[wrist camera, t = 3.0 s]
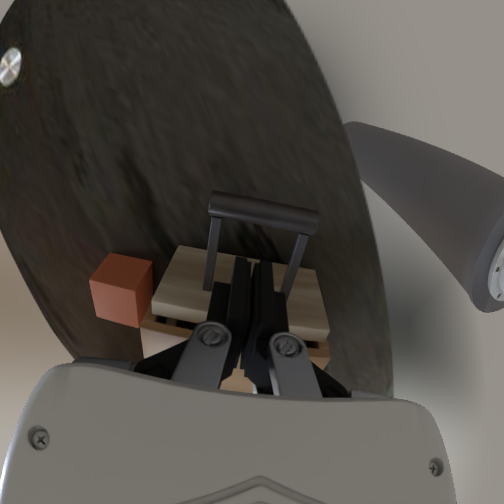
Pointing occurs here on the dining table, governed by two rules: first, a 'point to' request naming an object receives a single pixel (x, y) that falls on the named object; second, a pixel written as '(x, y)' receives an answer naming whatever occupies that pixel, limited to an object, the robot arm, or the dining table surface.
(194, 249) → the drawer
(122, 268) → the block
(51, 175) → the dining table surface
